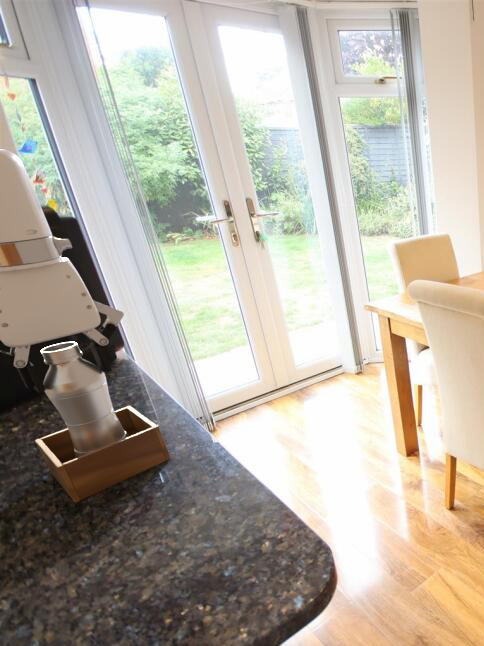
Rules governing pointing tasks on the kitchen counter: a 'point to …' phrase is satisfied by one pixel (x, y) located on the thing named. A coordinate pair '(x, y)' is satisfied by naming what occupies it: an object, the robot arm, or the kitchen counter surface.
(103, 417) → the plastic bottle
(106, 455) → the holder
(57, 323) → the robot arm
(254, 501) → the kitchen counter surface
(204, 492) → the kitchen counter surface
